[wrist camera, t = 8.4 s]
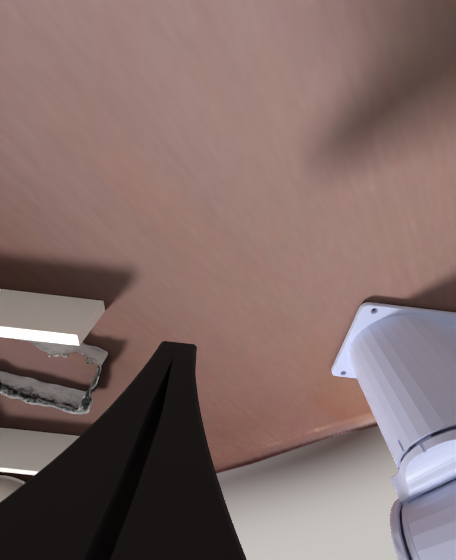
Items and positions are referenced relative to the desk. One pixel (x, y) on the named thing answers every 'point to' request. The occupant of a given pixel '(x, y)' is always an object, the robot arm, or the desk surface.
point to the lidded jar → (9, 485)
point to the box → (47, 328)
